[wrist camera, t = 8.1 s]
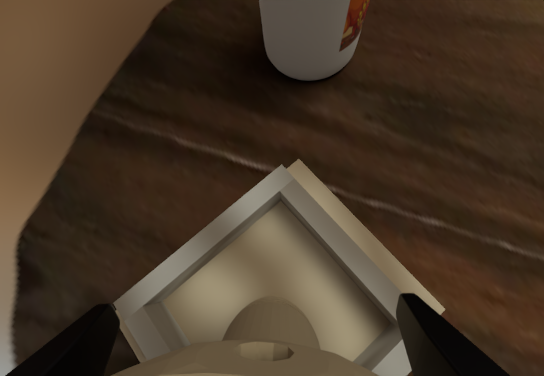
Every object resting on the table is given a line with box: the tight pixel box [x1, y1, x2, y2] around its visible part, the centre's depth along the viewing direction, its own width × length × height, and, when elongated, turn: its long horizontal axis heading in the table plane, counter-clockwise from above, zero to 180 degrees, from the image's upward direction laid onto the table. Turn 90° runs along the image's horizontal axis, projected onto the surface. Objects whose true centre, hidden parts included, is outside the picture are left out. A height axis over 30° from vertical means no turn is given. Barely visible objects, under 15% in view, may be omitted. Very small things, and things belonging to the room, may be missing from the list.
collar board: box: [113, 159, 445, 376], centre depth 16 cm, size 16×13×4 cm
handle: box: [111, 295, 379, 376], centre depth 9 cm, size 5×6×15 cm
